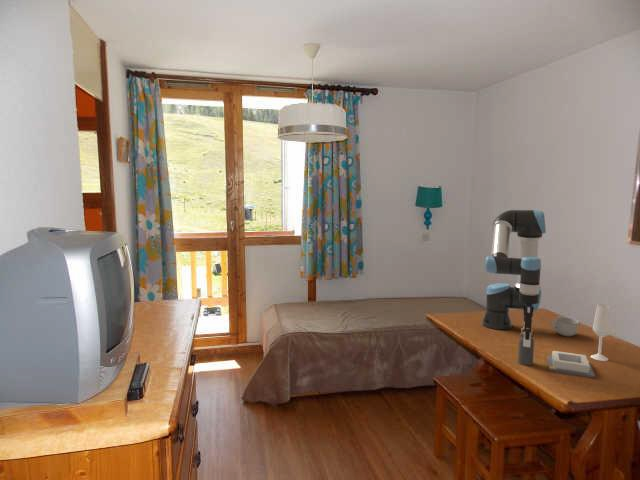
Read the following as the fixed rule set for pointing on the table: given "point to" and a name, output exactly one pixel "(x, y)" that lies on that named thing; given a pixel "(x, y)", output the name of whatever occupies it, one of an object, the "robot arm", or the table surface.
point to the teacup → (565, 326)
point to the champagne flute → (601, 327)
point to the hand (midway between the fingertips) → (526, 341)
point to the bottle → (525, 350)
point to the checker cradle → (570, 364)
